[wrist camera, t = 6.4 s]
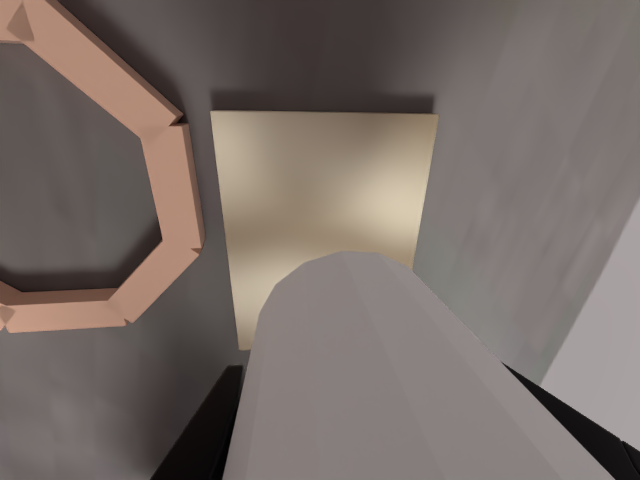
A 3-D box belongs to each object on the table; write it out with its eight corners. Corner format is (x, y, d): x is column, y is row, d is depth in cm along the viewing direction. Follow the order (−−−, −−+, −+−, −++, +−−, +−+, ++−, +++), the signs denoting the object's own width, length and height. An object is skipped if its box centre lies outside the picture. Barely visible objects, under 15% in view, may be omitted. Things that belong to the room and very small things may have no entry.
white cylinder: (257, 413, 12) (234, 802, 5) (213, 247, 8) (32, 705, 2) (438, 383, 12) (614, 705, 6) (458, 216, 9) (882, 517, 3)
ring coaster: (216, 307, 16) (212, 320, 15) (-69, 323, 15) (-92, 339, 14) (169, -3, 11) (159, -11, 10) (-303, -29, 9) (-366, -41, 8)
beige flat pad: (396, 331, 19) (399, 339, 18) (240, 342, 18) (239, 350, 17) (432, 113, 13) (439, 114, 13) (213, 110, 12) (210, 111, 12)
